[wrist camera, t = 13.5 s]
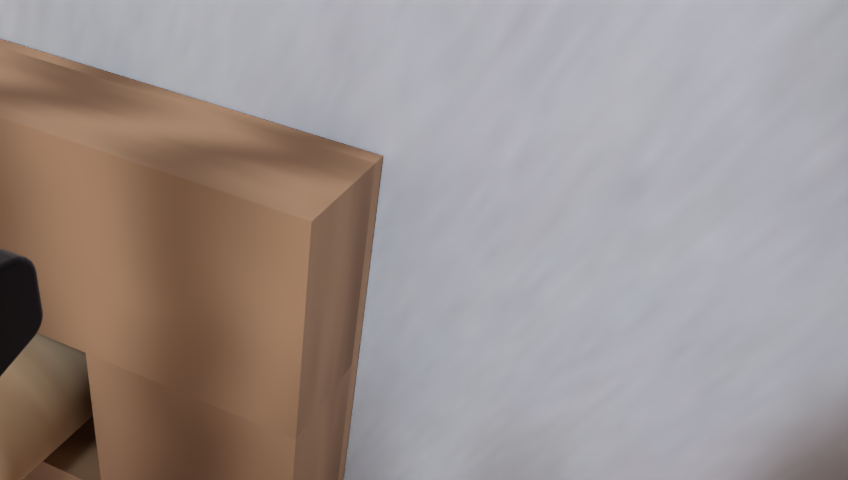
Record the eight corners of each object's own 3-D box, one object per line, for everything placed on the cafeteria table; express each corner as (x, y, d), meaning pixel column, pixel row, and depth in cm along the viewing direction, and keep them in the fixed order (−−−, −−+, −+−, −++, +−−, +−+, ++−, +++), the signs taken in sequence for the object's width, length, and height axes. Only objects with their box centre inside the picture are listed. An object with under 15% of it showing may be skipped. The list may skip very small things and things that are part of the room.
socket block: (383, 156, 21) (311, 221, 18) (328, 600, 32) (277, 692, 28) (-173, -14, 26) (-309, 13, 22) (-57, 421, 36) (-139, 482, 33)
